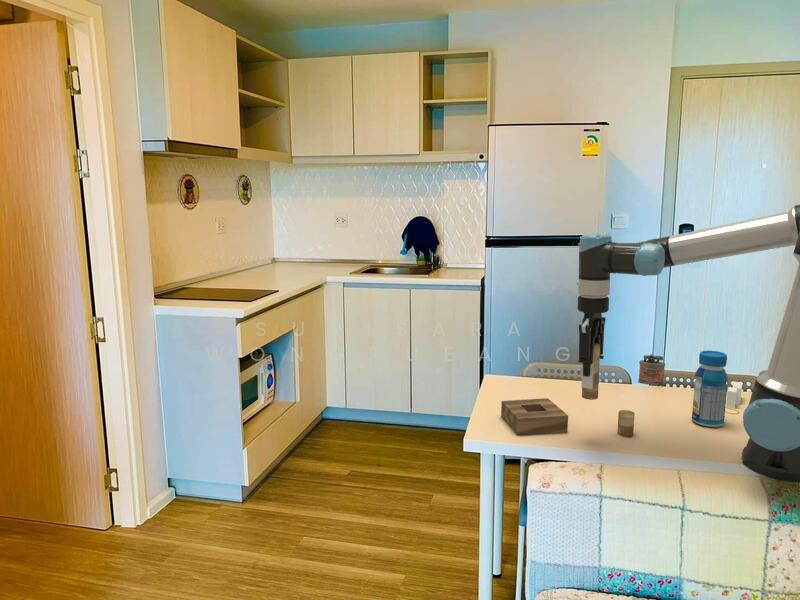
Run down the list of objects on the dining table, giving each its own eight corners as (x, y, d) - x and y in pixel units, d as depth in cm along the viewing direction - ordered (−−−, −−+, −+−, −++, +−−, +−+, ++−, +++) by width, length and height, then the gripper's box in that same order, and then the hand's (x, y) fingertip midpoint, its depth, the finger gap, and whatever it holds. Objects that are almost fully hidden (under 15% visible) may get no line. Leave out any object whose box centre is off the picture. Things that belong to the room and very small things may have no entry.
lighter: (637, 383, 201) (639, 354, 199) (638, 380, 204) (640, 352, 202) (663, 386, 197) (665, 357, 196) (664, 383, 200) (666, 355, 199)
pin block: (567, 433, 159) (568, 415, 158) (517, 436, 157) (518, 418, 156) (547, 414, 173) (547, 398, 172) (501, 417, 171) (501, 400, 170)
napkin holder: (733, 394, 190) (735, 377, 189) (765, 406, 180) (767, 388, 179) (697, 400, 185) (699, 383, 184) (729, 412, 175) (730, 394, 174)
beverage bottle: (711, 430, 160) (717, 358, 157) (684, 419, 168) (689, 351, 164) (731, 424, 164) (737, 354, 161) (703, 414, 172) (709, 348, 168)
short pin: (636, 436, 157) (637, 414, 156) (622, 437, 156) (623, 415, 155) (628, 430, 160) (629, 409, 159) (614, 431, 160) (615, 410, 159)
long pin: (600, 399, 151) (602, 345, 148) (586, 400, 150) (587, 346, 148) (593, 394, 155) (595, 342, 152) (579, 395, 154) (580, 342, 152)
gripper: (590, 290, 157) (587, 375, 161) (566, 299, 144) (563, 391, 147) (618, 292, 153) (615, 379, 156) (597, 301, 139) (593, 397, 143)
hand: (590, 385), depth 152 cm, fingers closed on long pin, 4 cm apart
